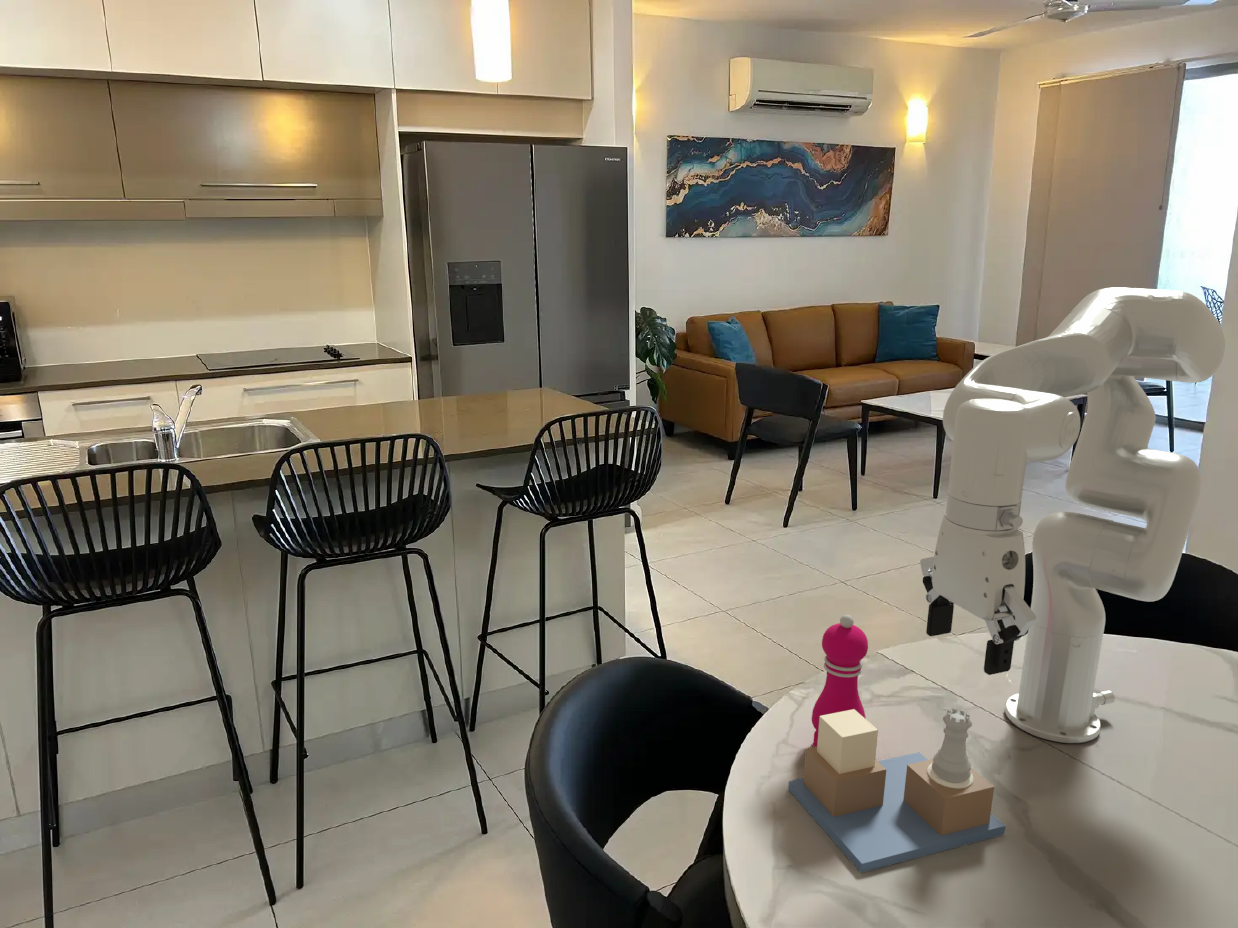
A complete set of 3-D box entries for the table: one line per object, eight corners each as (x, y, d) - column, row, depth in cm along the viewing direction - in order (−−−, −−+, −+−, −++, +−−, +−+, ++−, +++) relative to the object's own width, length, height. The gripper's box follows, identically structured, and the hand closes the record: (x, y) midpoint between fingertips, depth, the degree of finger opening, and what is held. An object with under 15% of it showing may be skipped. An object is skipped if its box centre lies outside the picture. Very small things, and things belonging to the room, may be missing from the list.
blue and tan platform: (918, 759, 119) (926, 685, 116) (1004, 834, 105) (1016, 751, 102) (788, 788, 113) (793, 711, 110) (860, 872, 98) (869, 785, 95)
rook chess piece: (973, 786, 103) (981, 726, 101) (933, 781, 104) (941, 721, 102) (967, 765, 107) (974, 706, 105) (928, 760, 108) (935, 702, 106)
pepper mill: (830, 768, 117) (841, 630, 112) (799, 740, 124) (808, 609, 119) (874, 756, 120) (887, 621, 115) (841, 729, 127) (852, 600, 121)
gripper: (1071, 533, 90) (1050, 682, 95) (956, 486, 106) (943, 616, 111) (1013, 542, 88) (994, 694, 93) (904, 493, 104) (892, 625, 108)
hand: (966, 651), depth 102 cm, fingers open, 9 cm apart
